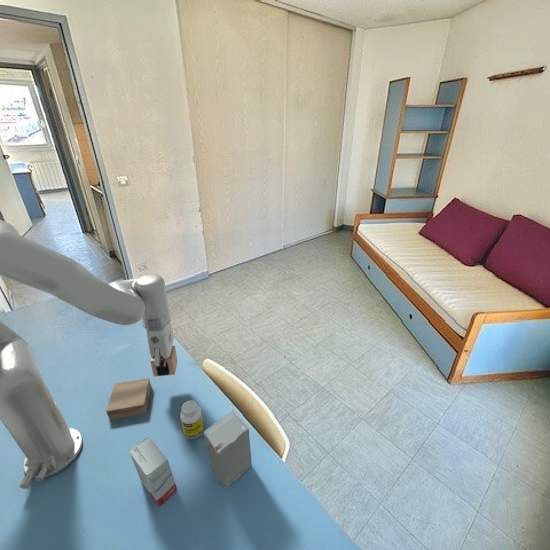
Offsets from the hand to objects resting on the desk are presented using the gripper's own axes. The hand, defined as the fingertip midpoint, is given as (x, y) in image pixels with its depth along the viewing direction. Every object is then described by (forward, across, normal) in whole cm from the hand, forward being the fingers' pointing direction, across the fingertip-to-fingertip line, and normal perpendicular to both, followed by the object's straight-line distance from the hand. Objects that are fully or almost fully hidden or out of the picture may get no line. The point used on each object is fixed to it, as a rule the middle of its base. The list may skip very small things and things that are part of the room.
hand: (165, 366), depth 93 cm
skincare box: (+9, -28, -19) cm, 35 cm away
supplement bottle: (+9, -16, -9) cm, 21 cm away
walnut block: (+10, -4, +11) cm, 15 cm away
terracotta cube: (+1, 0, 0) cm, 1 cm away
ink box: (+10, -29, -2) cm, 31 cm away
